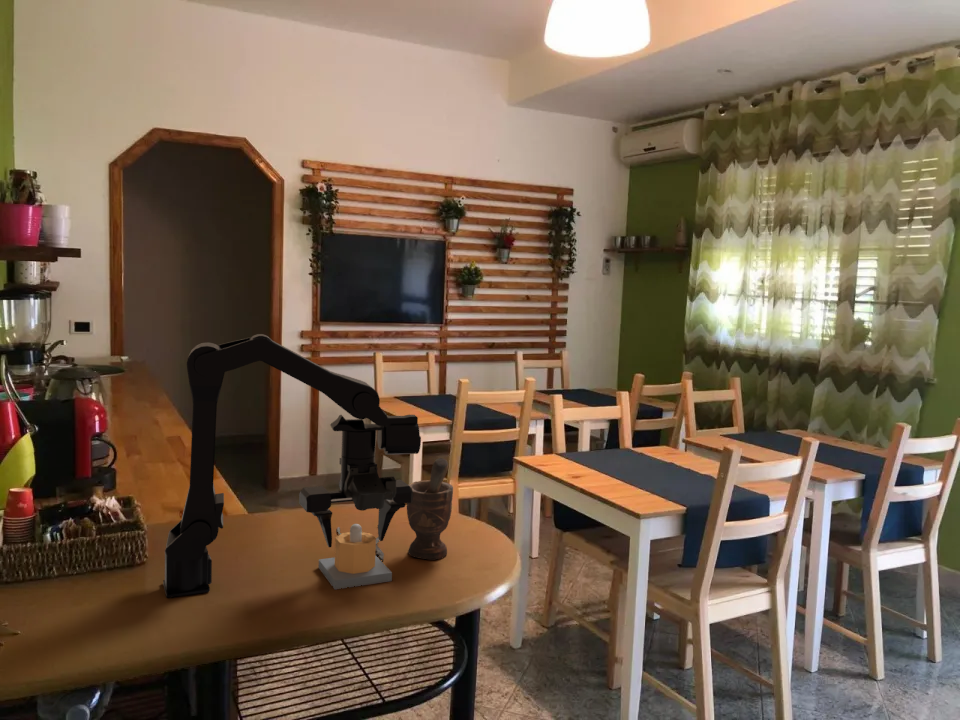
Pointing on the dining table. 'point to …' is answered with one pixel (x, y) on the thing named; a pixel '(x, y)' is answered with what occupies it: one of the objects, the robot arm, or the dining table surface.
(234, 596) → the dining table surface
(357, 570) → the collar
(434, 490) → the mortar and pestle
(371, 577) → the pin base
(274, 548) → the dining table surface
